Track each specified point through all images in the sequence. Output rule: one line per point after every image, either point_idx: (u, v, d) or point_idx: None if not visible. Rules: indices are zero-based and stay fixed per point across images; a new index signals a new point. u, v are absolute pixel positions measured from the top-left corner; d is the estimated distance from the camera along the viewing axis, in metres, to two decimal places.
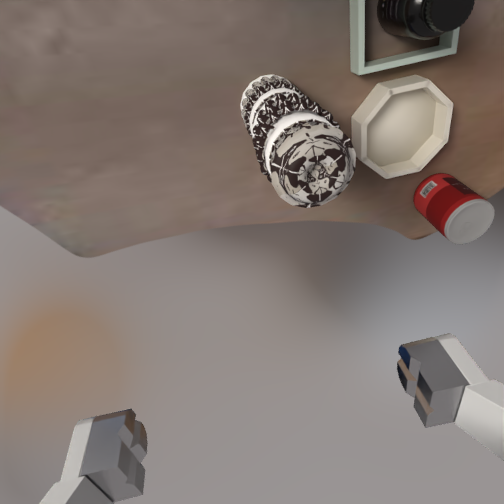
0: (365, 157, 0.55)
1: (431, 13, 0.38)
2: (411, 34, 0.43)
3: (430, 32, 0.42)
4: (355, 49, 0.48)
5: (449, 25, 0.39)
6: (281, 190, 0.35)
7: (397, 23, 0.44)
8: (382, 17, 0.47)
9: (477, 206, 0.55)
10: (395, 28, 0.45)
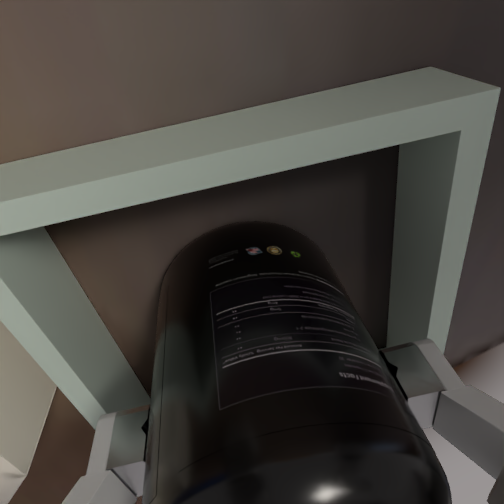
0: None
1: None
2: (154, 493, 0.07)
3: None
4: (60, 172, 0.09)
5: None
6: None
7: (202, 370, 0.08)
8: (212, 258, 0.11)
9: None
10: (177, 346, 0.09)
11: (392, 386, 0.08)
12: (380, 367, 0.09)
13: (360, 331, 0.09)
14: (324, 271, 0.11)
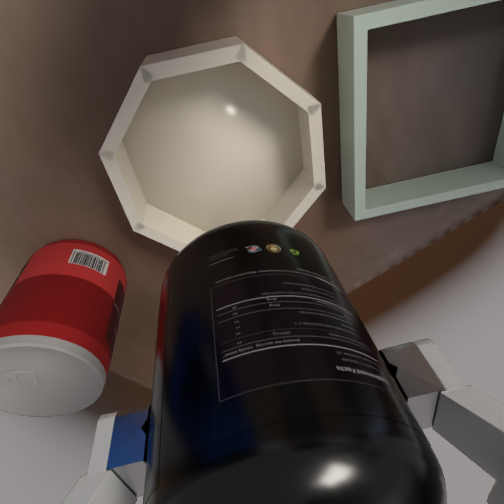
0: (152, 77, 0.20)
1: None
2: (155, 483, 0.07)
3: None
4: (398, 3, 0.21)
5: None
6: None
7: (203, 364, 0.08)
8: (212, 255, 0.11)
9: (87, 377, 0.23)
10: (178, 342, 0.09)
11: (388, 380, 0.08)
12: (377, 362, 0.09)
13: (357, 327, 0.10)
14: (323, 268, 0.11)
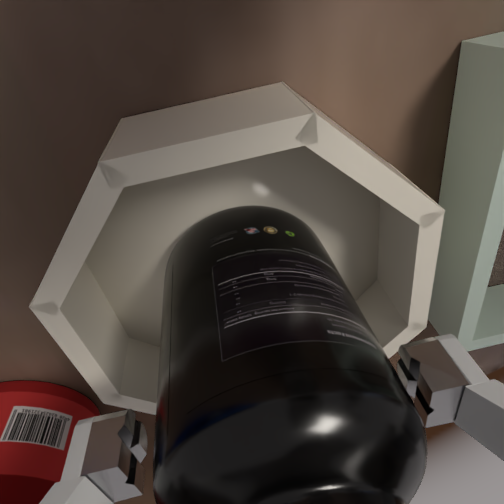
0: (125, 180, 0.10)
1: None
2: (165, 434, 0.08)
3: None
4: None
5: None
6: None
7: (206, 331, 0.09)
8: (213, 237, 0.12)
9: None
10: (183, 314, 0.10)
11: (375, 345, 0.09)
12: (365, 329, 0.10)
13: (348, 300, 0.10)
14: (317, 249, 0.12)
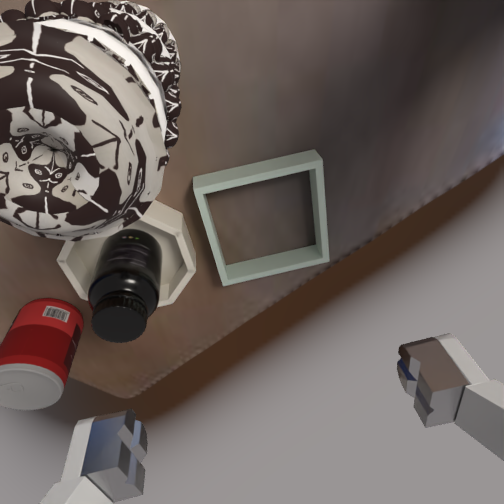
0: None
1: (105, 308, 0.32)
2: (90, 284, 0.35)
3: (94, 306, 0.35)
4: (221, 178, 0.38)
5: (99, 329, 0.33)
6: None
7: (102, 263, 0.36)
8: (113, 239, 0.39)
9: (51, 386, 0.40)
10: (99, 260, 0.37)
11: (146, 267, 0.36)
12: (145, 263, 0.37)
13: (146, 257, 0.38)
14: (145, 243, 0.39)
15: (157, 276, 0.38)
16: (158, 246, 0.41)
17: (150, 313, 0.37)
